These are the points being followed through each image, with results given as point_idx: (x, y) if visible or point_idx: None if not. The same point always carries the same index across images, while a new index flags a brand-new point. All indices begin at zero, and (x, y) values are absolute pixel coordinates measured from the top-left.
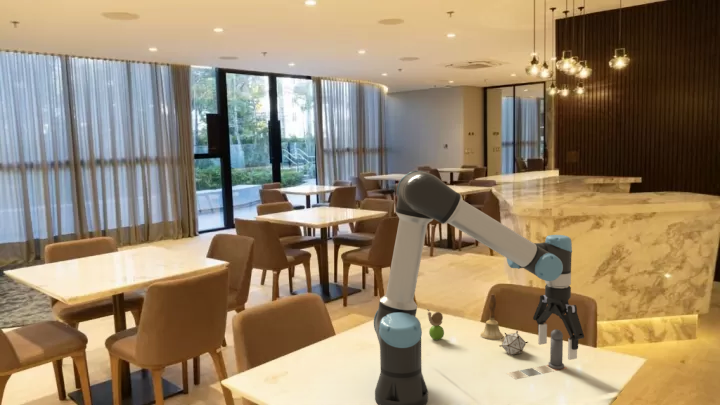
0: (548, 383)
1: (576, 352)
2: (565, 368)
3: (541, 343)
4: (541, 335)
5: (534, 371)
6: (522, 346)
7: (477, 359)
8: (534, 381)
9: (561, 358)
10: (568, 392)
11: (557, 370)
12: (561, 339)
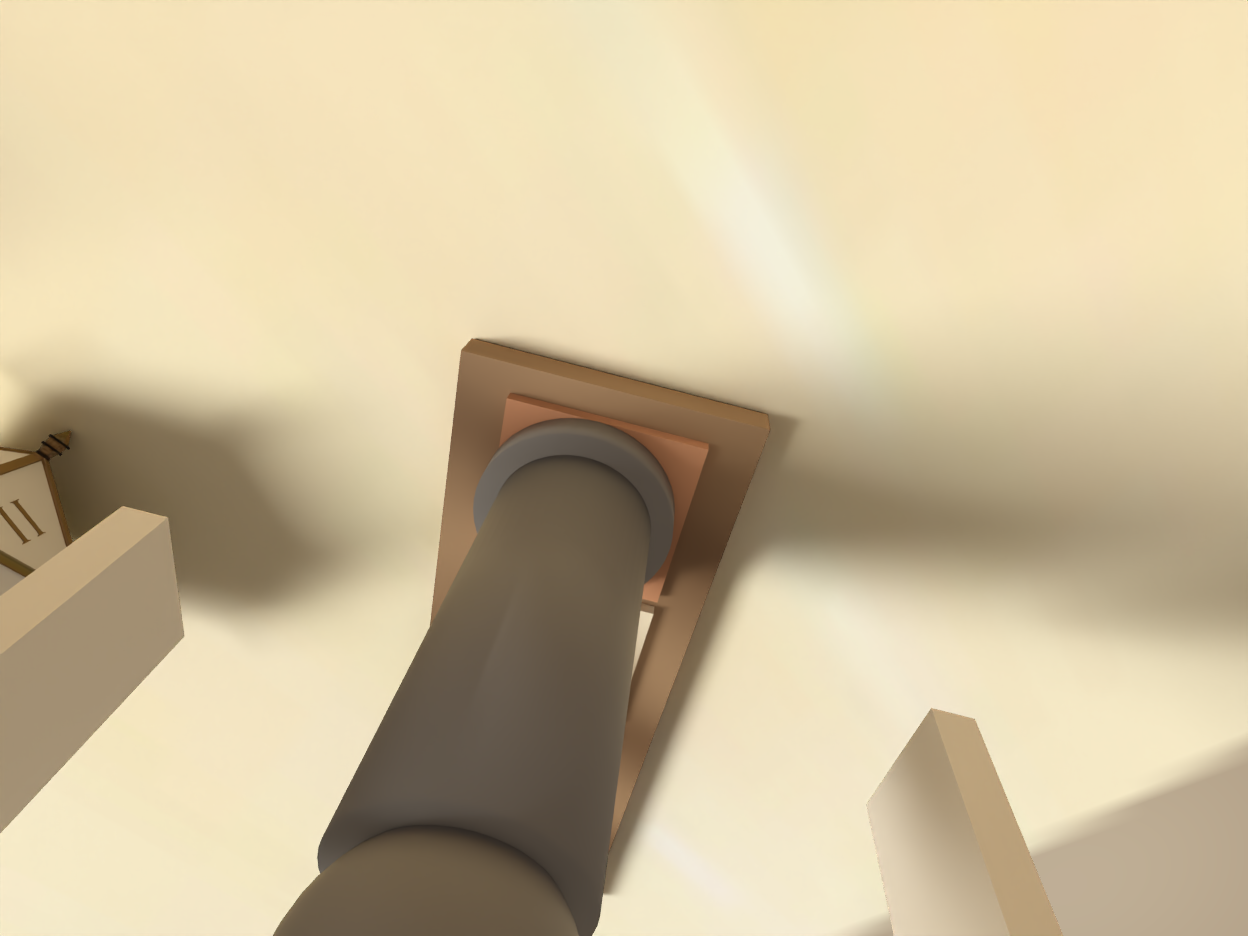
0: (741, 759)
1: (1014, 837)
2: (693, 476)
3: (171, 624)
4: (41, 758)
5: None
6: (11, 580)
7: None
8: (636, 793)
9: (642, 595)
10: None
11: (662, 581)
12: (552, 870)
